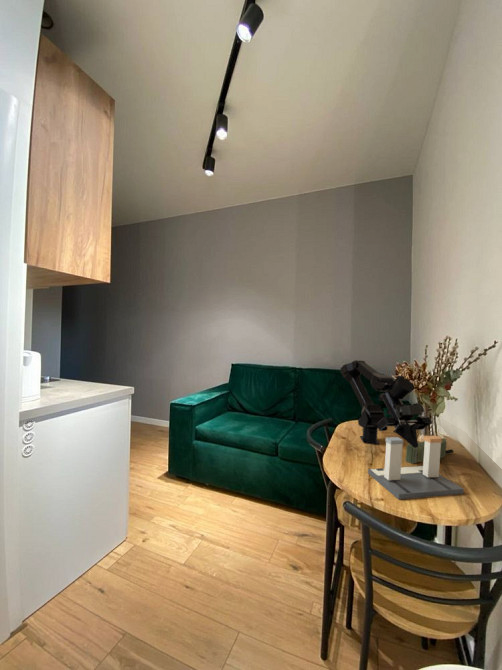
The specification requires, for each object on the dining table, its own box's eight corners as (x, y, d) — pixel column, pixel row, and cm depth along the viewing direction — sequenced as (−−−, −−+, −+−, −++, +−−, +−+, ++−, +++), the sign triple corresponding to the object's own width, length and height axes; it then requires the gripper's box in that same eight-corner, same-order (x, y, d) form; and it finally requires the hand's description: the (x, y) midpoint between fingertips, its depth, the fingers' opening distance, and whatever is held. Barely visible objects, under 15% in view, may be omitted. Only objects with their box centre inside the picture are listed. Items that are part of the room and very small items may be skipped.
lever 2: (421, 473, 86) (424, 436, 86) (433, 473, 87) (435, 435, 86) (427, 477, 84) (430, 439, 83) (439, 477, 84) (442, 438, 84)
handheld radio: (403, 460, 99) (446, 452, 109) (412, 465, 96) (455, 456, 106) (405, 443, 99) (448, 435, 108) (413, 447, 96) (457, 439, 105)
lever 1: (383, 476, 83) (385, 437, 83) (395, 475, 84) (397, 437, 84) (388, 480, 81) (391, 440, 80) (400, 479, 82) (403, 440, 81)
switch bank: (368, 473, 88) (368, 468, 88) (425, 469, 92) (425, 464, 92) (398, 499, 75) (399, 493, 75) (463, 493, 79) (463, 487, 79)
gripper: (384, 394, 94) (406, 438, 83) (429, 394, 98) (456, 436, 87) (368, 410, 102) (387, 452, 91) (411, 409, 106) (433, 449, 95)
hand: (416, 447), depth 91 cm, fingers closed
